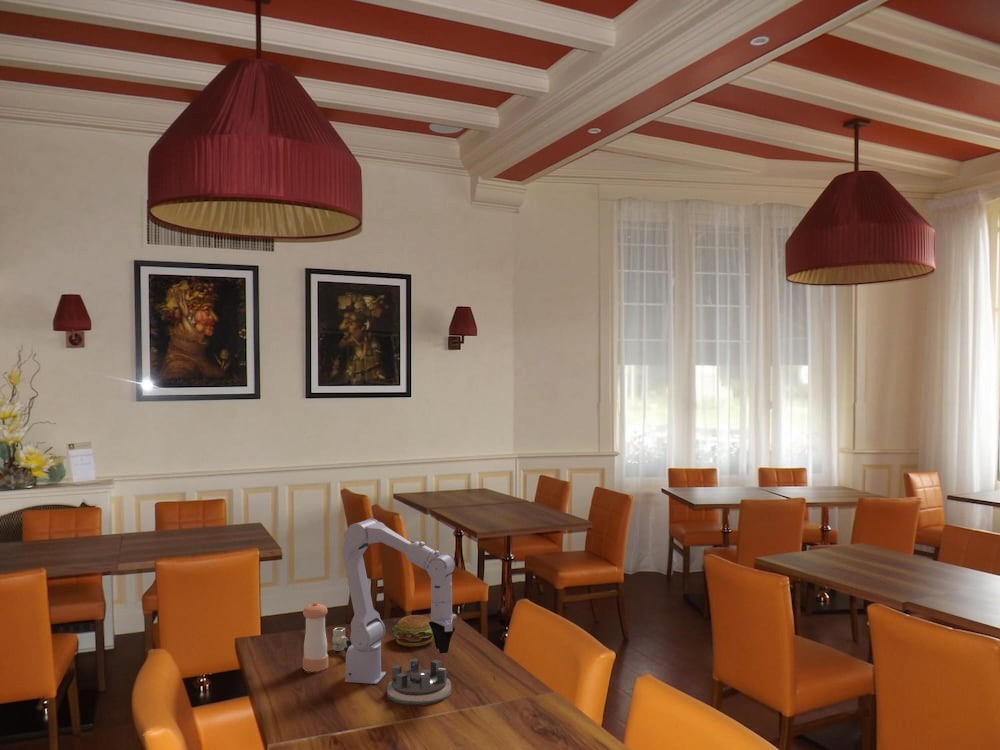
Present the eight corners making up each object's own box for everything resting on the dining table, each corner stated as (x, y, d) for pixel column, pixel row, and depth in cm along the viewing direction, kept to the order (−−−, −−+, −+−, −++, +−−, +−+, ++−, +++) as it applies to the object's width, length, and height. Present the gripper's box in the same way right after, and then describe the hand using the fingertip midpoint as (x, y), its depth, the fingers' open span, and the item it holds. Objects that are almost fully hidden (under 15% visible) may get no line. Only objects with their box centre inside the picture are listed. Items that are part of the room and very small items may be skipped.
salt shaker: (297, 670, 221) (297, 604, 221) (312, 662, 227) (312, 597, 228) (318, 674, 218) (318, 606, 218) (333, 665, 225) (333, 600, 225)
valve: (326, 650, 237) (345, 661, 228) (326, 629, 237) (345, 639, 228) (345, 646, 242) (364, 656, 232) (345, 625, 242) (364, 634, 233)
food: (400, 651, 236) (400, 626, 236) (388, 638, 249) (388, 613, 249) (442, 645, 241) (442, 620, 241) (428, 632, 254) (428, 608, 254)
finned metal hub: (384, 692, 199) (384, 675, 199) (401, 671, 213) (401, 656, 213) (438, 696, 196) (438, 679, 196) (452, 675, 210) (452, 659, 210)
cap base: (378, 703, 198) (378, 694, 198) (398, 678, 214) (398, 670, 214) (441, 707, 195) (441, 699, 195) (457, 682, 211) (457, 674, 211)
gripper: (463, 605, 201) (463, 657, 201) (448, 591, 215) (448, 640, 215) (437, 608, 199) (437, 660, 199) (424, 594, 213) (424, 643, 212)
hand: (441, 650), depth 207 cm, fingers open, 3 cm apart
